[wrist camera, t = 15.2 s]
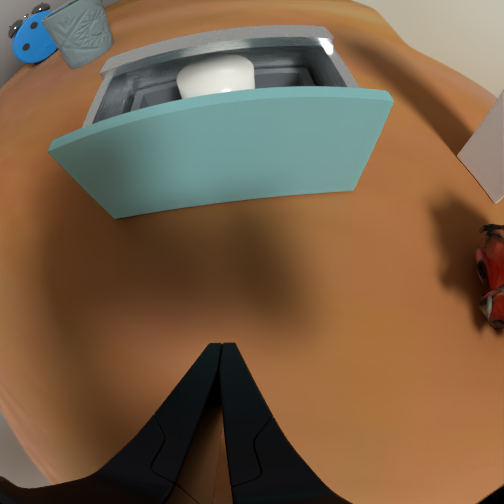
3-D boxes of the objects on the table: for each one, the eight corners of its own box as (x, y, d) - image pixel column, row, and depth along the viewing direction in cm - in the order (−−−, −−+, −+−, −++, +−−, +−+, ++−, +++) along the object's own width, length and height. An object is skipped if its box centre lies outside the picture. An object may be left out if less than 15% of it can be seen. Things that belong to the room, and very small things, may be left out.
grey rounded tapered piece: (260, 135, 18) (257, 87, 14) (188, 145, 18) (172, 100, 14) (253, 93, 20) (250, 50, 16) (192, 102, 20) (180, 60, 16)
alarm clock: (66, 38, 37) (47, -2, 23) (73, 39, 36) (53, -6, 22) (25, 72, 34) (0, 33, 20) (28, 75, 33) (2, 32, 19)
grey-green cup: (70, 58, 31) (47, 14, 20) (118, 32, 32) (99, -16, 21) (64, 79, 28) (34, 27, 16) (121, 47, 29) (97, -10, 17)
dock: (349, 181, 18) (380, 106, 11) (117, 209, 18) (63, 151, 12) (313, 87, 22) (321, 23, 15) (137, 110, 22) (110, 54, 15)
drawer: (353, 190, 18) (394, 101, 10) (114, 219, 18) (47, 151, 10) (316, 91, 21) (326, 15, 13) (135, 115, 22) (102, 48, 14)
